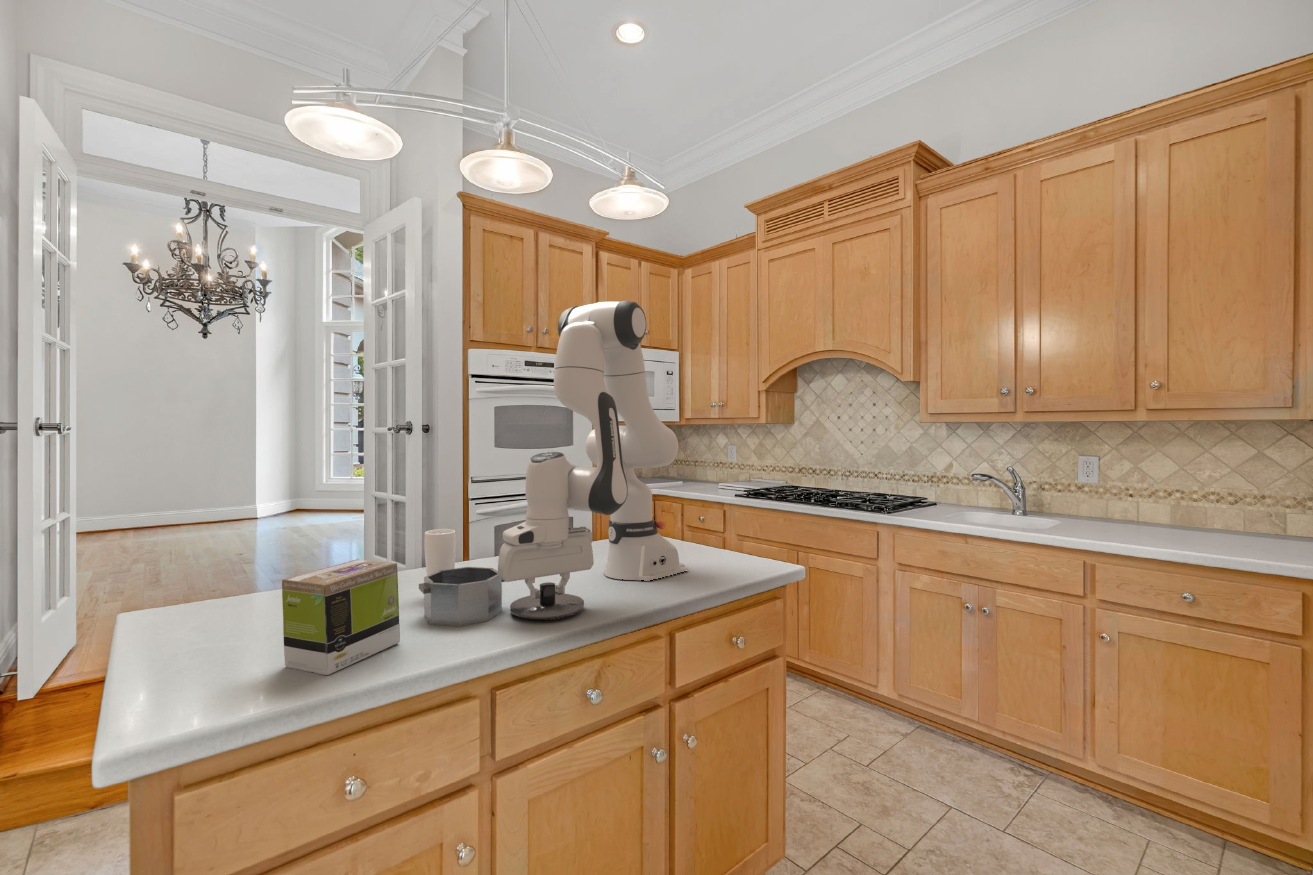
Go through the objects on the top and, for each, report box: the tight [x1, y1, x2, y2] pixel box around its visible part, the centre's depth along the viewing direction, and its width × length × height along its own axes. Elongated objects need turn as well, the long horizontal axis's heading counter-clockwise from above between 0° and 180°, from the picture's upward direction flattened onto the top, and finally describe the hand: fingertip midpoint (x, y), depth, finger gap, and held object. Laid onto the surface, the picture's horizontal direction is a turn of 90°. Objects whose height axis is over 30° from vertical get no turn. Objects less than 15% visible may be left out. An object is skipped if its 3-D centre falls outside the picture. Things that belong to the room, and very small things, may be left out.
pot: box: [418, 566, 507, 627], centre depth 122 cm, size 17×14×8 cm
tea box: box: [281, 558, 401, 676], centre depth 100 cm, size 15×10×15 cm
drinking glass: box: [423, 528, 457, 576], centre depth 134 cm, size 7×7×15 cm
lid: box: [509, 582, 585, 621], centre depth 123 cm, size 15×15×6 cm
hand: (547, 596), depth 123 cm, fingers open, 4 cm apart
